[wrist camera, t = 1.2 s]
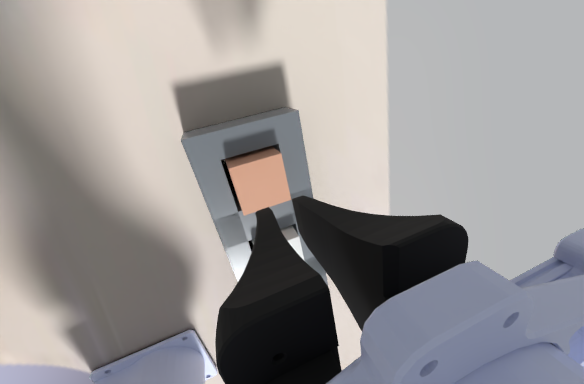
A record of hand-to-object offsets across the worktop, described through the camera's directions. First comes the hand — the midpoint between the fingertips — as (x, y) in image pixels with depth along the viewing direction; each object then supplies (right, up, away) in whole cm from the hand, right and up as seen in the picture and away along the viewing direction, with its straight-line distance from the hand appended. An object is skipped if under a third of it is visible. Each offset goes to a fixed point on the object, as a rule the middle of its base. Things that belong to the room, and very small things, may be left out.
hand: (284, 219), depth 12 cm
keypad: (-2, -3, +11) cm, 12 cm away
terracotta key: (-3, +3, +7) cm, 8 cm away
